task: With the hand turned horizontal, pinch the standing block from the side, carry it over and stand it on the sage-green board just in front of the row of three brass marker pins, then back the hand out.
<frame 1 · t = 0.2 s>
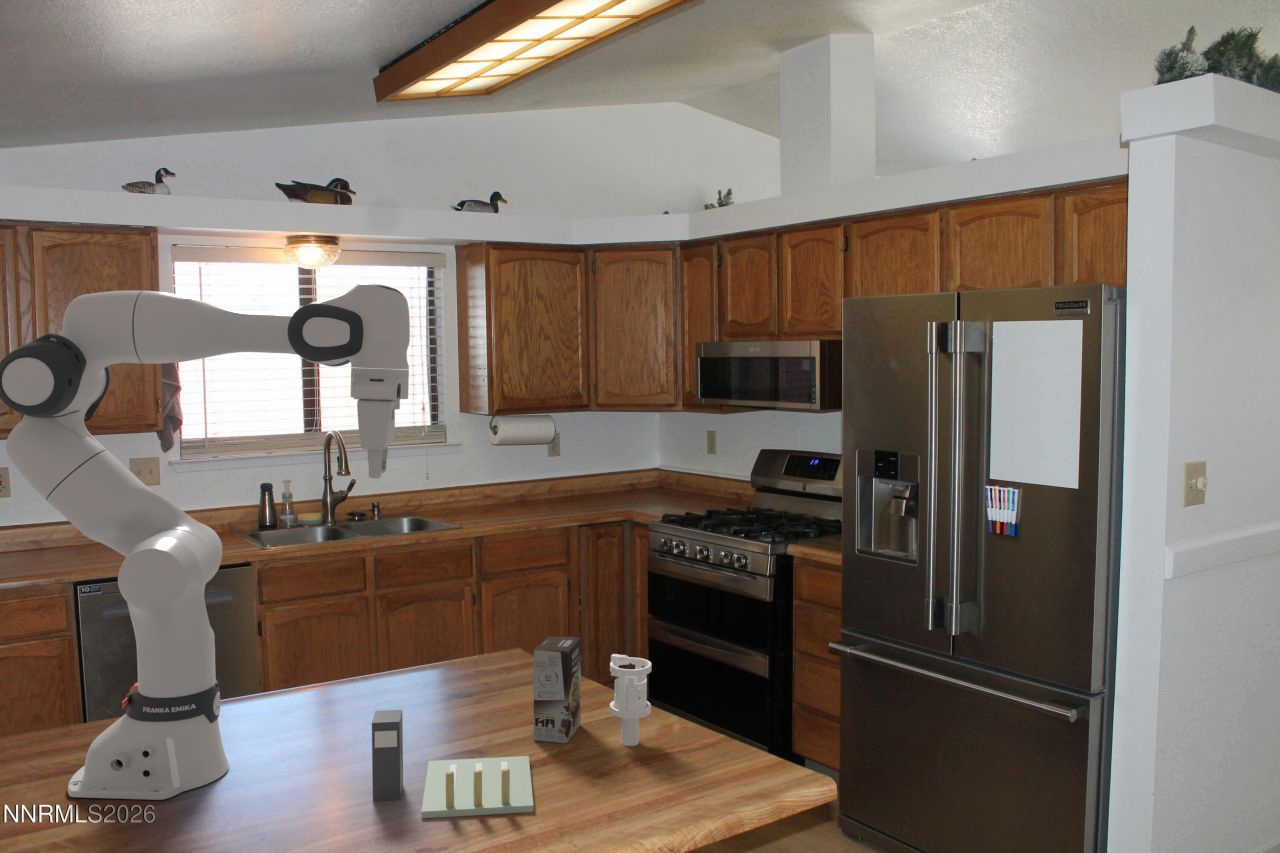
hand: (377, 475, 161), 47 cm above the table, tool pointing down, fingers open, 8 cm apart
block: (388, 793, 154), on the table
white plastic cylinder: (630, 743, 175), on the table
pinboard: (478, 788, 156), on the table
coffee box: (557, 733, 179), on the table
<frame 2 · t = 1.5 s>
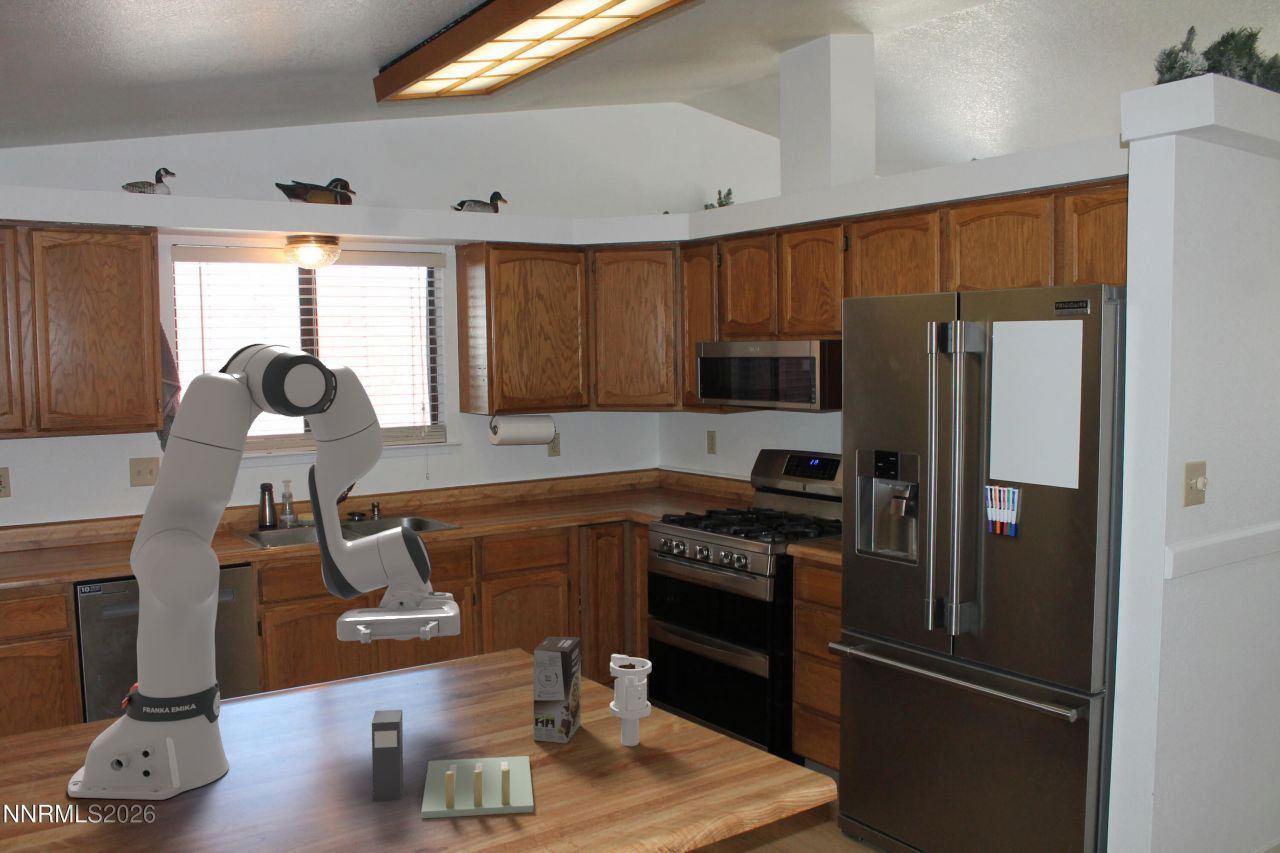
hand: (395, 636, 164), 21 cm above the table, tool horizontal, fingers open, 8 cm apart
nothing on the table moved.
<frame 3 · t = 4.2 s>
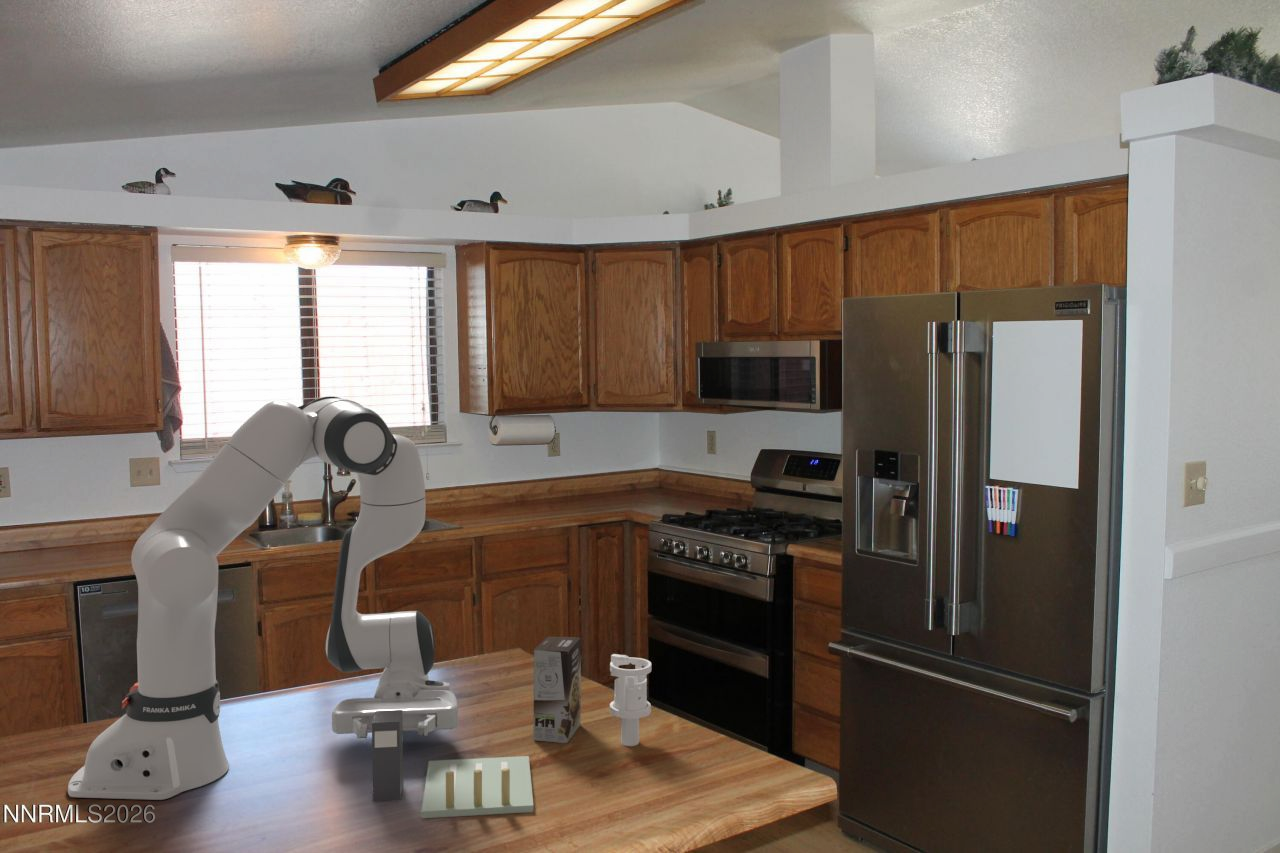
hand: (392, 732, 161), 6 cm above the table, tool horizontal, fingers open, 8 cm apart
nothing on the table moved.
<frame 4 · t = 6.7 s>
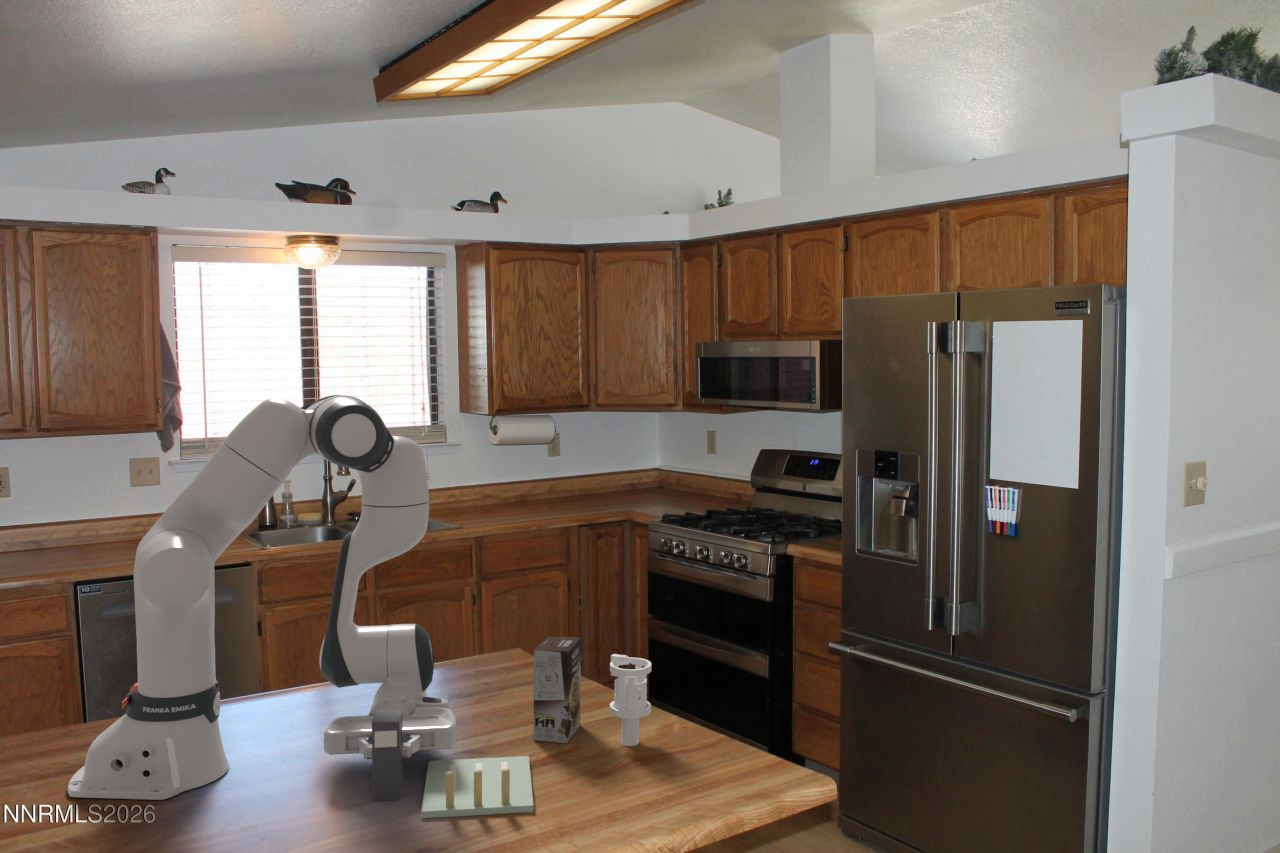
hand: (387, 753, 153), 7 cm above the table, tool horizontal, fingers closed on block, 4 cm apart
block: (388, 793, 154), on the table, touching gripper
everything else where it was.
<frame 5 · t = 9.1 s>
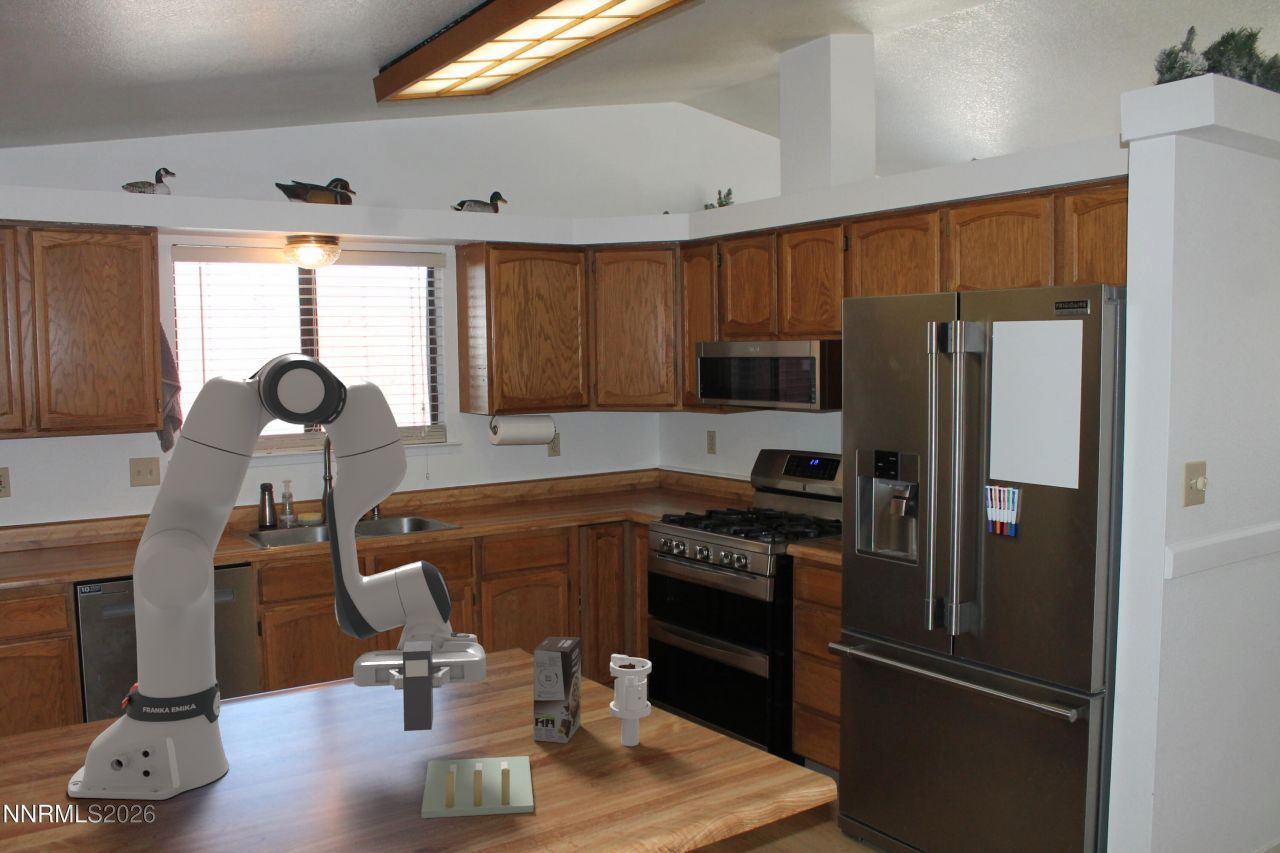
hand: (418, 683, 152), 17 cm above the table, tool horizontal, fingers closed on block, 4 cm apart
block: (418, 724, 154), point 11 cm above the table, touching gripper
everything else where it was.
when the fingers open (9 cm above the table, at t = 11.8 s): block drops 1 cm, resting on pinboard.
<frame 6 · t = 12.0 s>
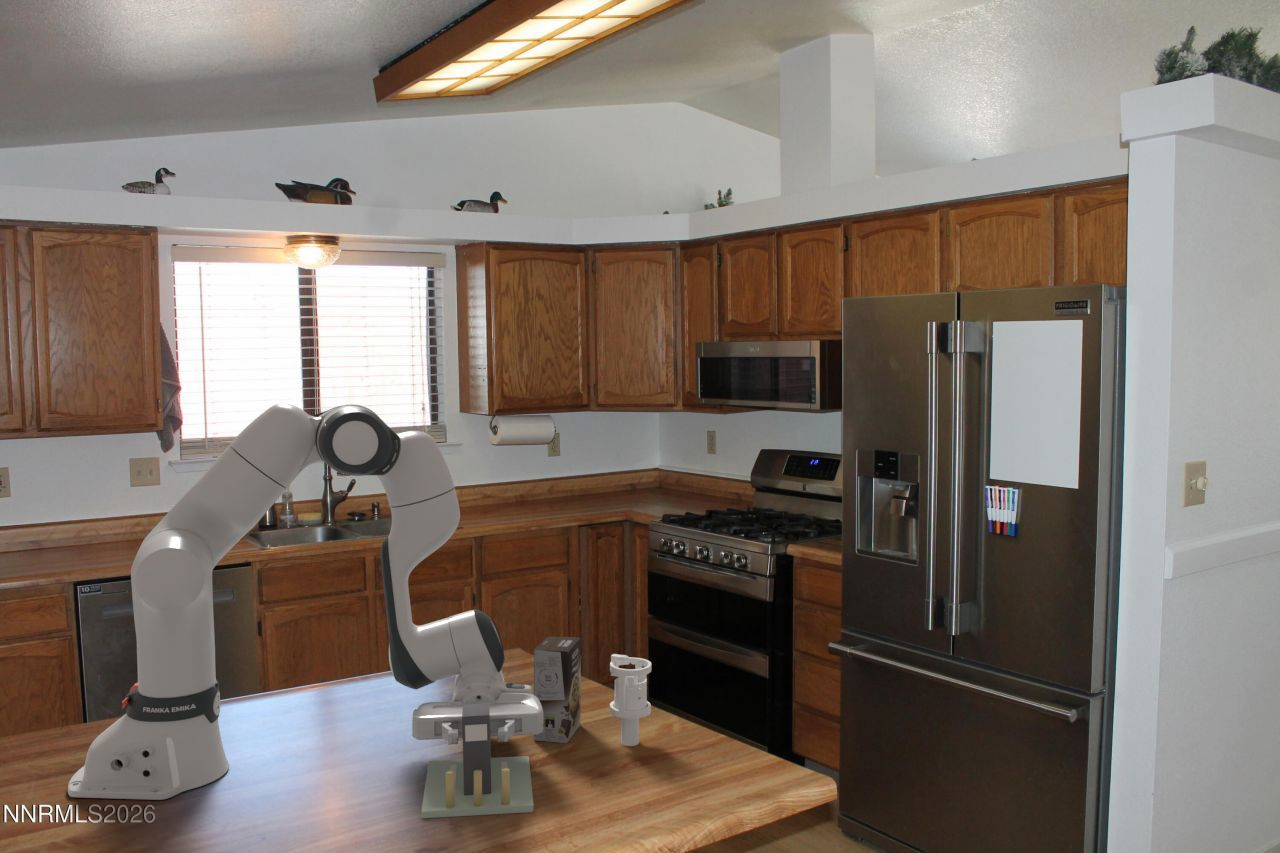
hand: (478, 738, 153), 9 cm above the table, tool horizontal, fingers open, 6 cm apart
block: (477, 787, 154), point 1 cm above the table, touching pinboard
everything else where it was.
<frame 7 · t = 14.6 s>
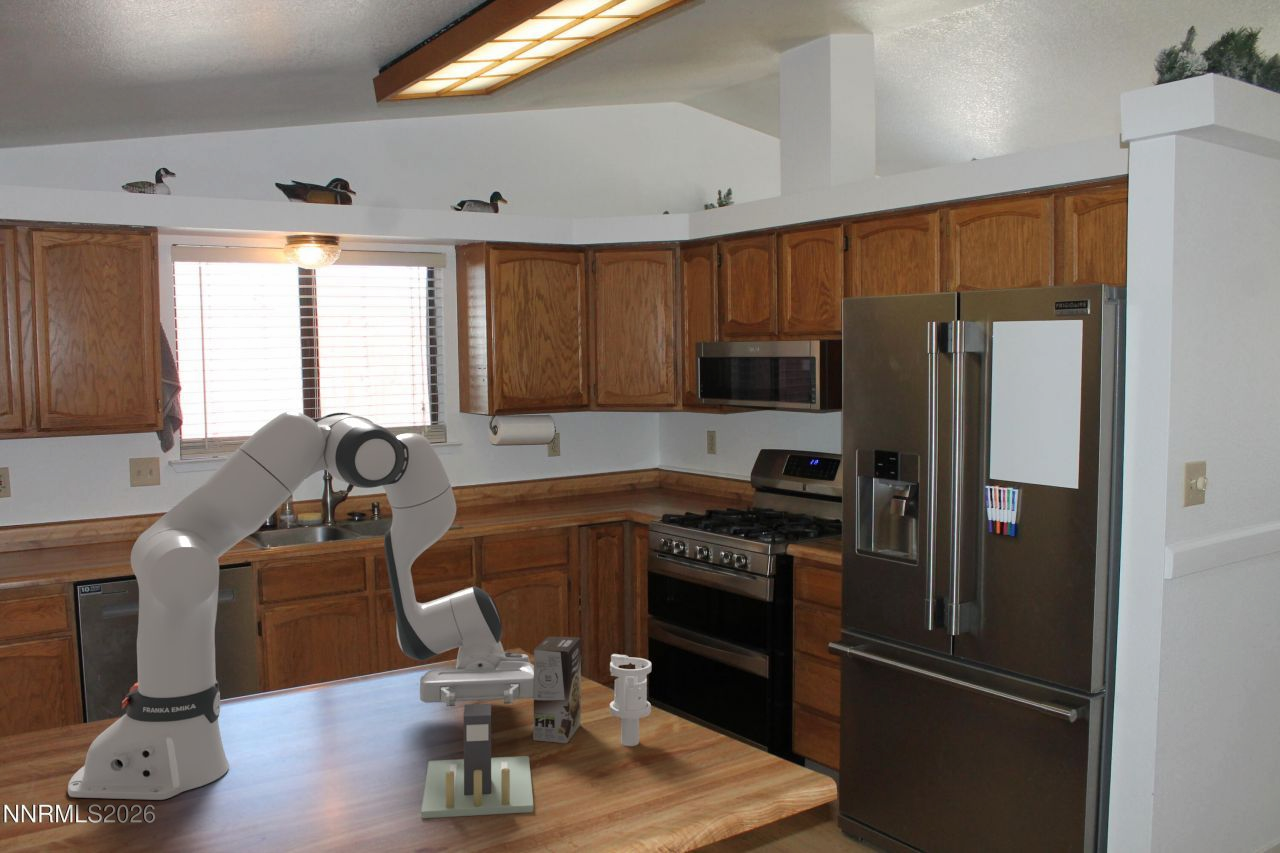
hand: (479, 700, 169), 9 cm above the table, tool horizontal, fingers open, 8 cm apart
nothing on the table moved.
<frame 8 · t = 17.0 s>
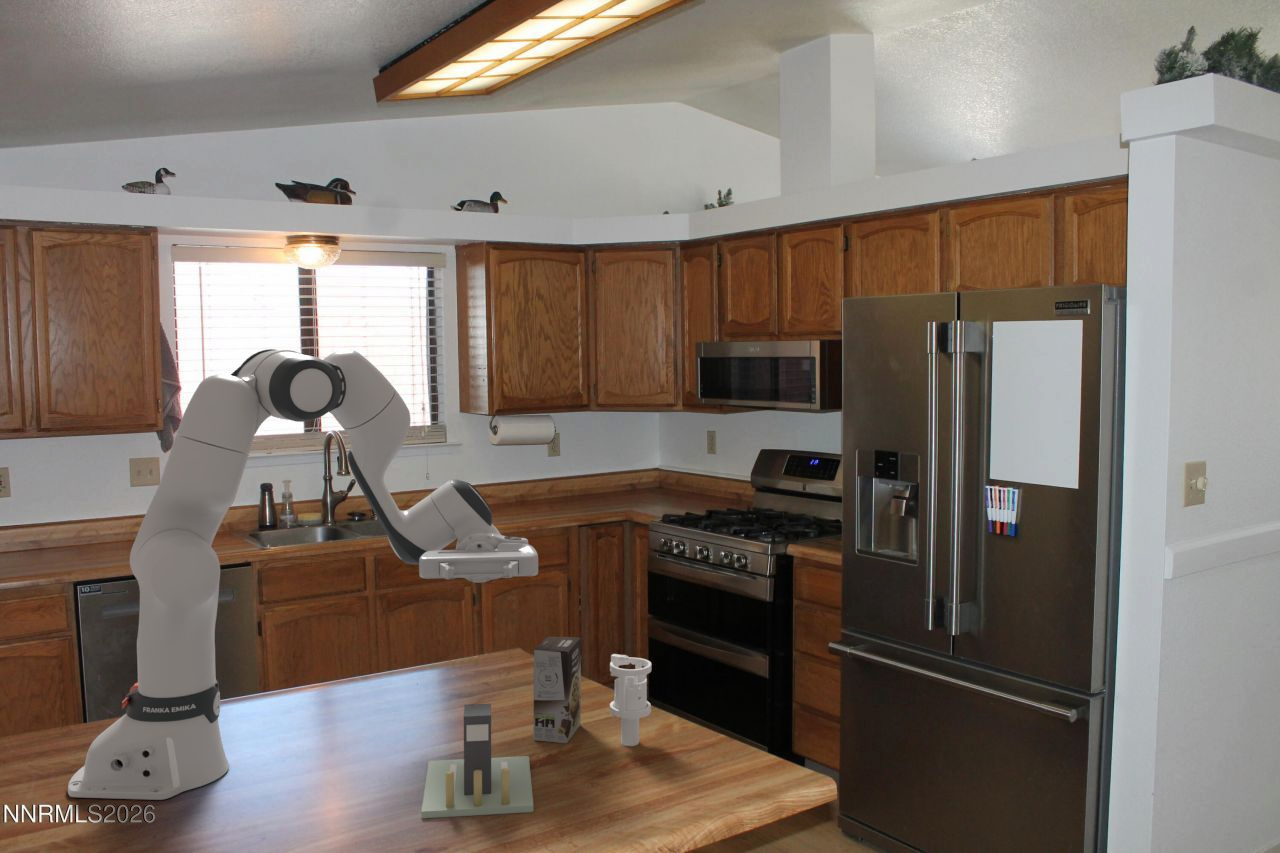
hand: (478, 573, 169), 30 cm above the table, tool horizontal, fingers open, 8 cm apart
nothing on the table moved.
at the end: block inside the target area on the pinboard (2.3 cm from its centre), point 1.0 cm above the pinboard's base; block tilted 0°; the gripper is holding nothing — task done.
